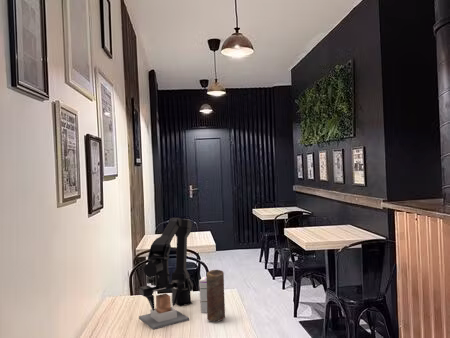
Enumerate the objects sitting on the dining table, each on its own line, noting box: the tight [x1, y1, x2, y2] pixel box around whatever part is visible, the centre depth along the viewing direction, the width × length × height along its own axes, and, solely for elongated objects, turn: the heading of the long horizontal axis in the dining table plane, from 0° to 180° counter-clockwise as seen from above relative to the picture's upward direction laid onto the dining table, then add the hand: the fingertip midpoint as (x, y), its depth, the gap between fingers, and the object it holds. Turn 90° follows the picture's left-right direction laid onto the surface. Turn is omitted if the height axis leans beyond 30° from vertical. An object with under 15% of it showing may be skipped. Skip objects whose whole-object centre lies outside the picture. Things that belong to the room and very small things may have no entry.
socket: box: [138, 306, 190, 330], centre depth 174 cm, size 16×16×4 cm
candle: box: [205, 269, 226, 323], centre depth 170 cm, size 8×7×20 cm
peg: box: [155, 293, 172, 313], centre depth 174 cm, size 4×4×9 cm
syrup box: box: [198, 276, 207, 314], centre depth 182 cm, size 6×6×14 cm
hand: (163, 308), depth 174 cm, fingers open, 9 cm apart
